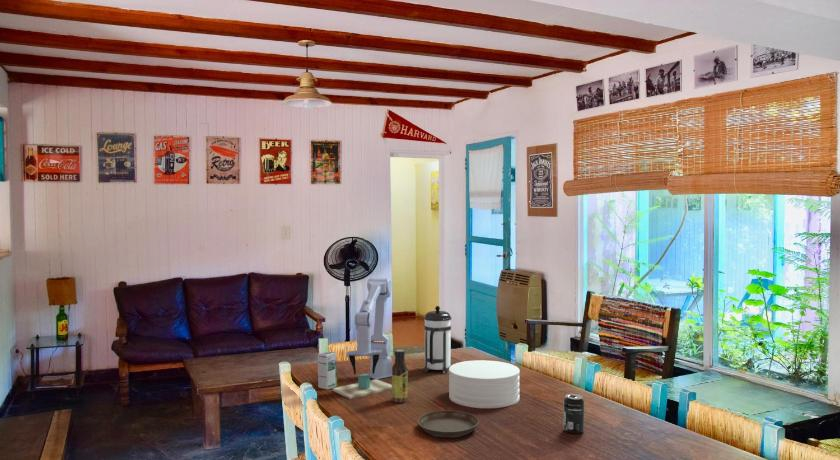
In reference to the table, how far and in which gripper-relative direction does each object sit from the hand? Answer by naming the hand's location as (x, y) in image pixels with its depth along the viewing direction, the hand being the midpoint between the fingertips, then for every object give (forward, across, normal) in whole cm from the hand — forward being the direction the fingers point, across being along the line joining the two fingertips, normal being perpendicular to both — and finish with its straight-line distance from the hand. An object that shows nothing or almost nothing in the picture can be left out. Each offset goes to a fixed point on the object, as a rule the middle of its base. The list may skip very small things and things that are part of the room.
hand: (364, 373), depth 258 cm
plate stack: (+7, +47, -16) cm, 50 cm away
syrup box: (+7, -15, +6) cm, 18 cm away
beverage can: (+7, +68, -58) cm, 89 cm away
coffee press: (+7, +35, +25) cm, 44 cm away
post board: (+7, 0, 0) cm, 7 cm away
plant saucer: (+7, +26, -50) cm, 57 cm away
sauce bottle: (+7, +13, -17) cm, 22 cm away
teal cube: (+6, 0, 0) cm, 6 cm away
